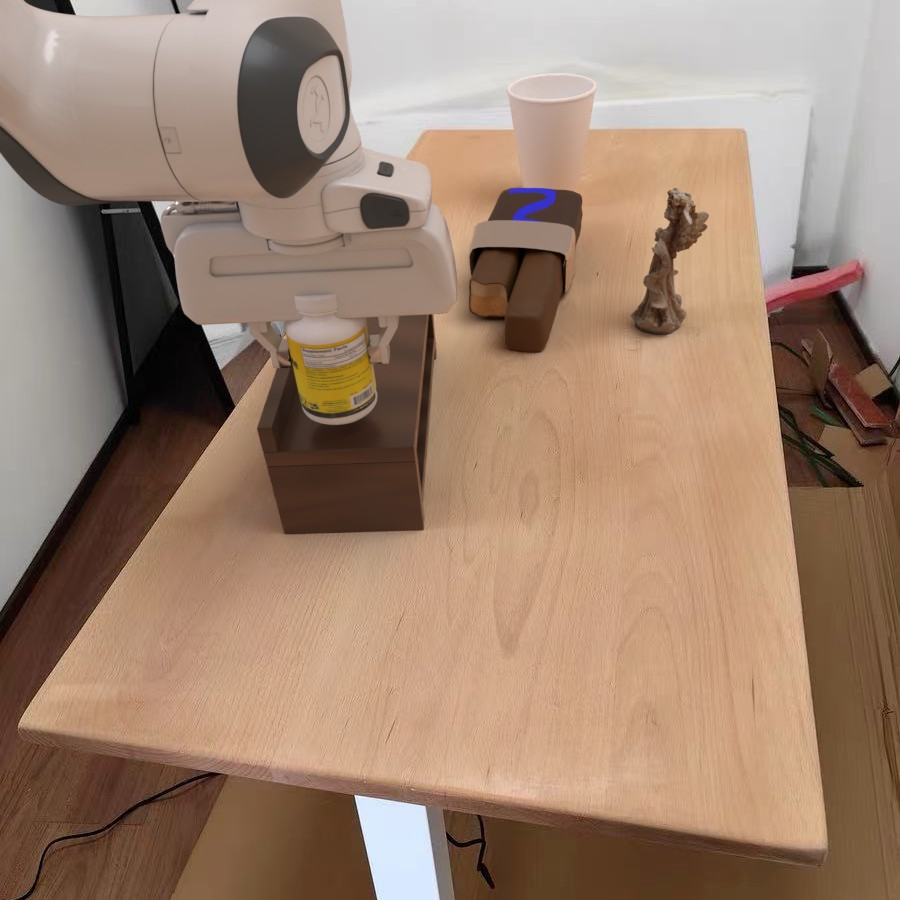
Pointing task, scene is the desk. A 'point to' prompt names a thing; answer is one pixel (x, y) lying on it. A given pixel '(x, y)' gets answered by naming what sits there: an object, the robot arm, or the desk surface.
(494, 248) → the chocolate bar pack
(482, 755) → the desk surface
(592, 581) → the desk surface
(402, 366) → the shelf
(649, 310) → the figurine
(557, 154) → the cup
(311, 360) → the pill bottle
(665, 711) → the desk surface
